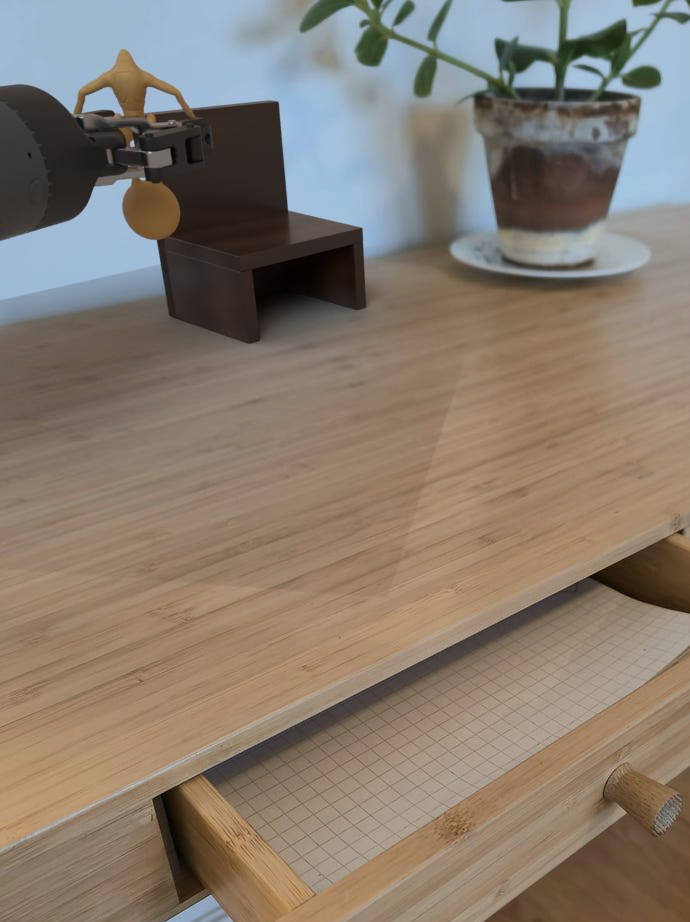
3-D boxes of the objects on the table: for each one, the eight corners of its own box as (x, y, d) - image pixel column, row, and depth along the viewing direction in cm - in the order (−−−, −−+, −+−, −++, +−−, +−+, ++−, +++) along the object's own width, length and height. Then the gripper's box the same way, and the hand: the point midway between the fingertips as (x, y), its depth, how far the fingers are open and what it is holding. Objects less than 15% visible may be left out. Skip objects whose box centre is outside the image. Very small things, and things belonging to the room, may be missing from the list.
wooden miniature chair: (168, 315, 86) (135, 113, 76) (286, 284, 94) (270, 99, 85) (249, 343, 80) (223, 129, 71) (366, 307, 89) (357, 113, 80)
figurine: (213, 231, 73) (189, 46, 66) (215, 249, 68) (189, 51, 61) (98, 235, 71) (61, 46, 64) (92, 253, 66) (51, 50, 59)
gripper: (79, 99, 50) (243, 75, 63) (-134, 82, 54) (62, 62, 67) (108, 249, 54) (255, 198, 67) (-91, 224, 58) (84, 180, 71)
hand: (158, 130), depth 67 cm, fingers closed on figurine, 7 cm apart
